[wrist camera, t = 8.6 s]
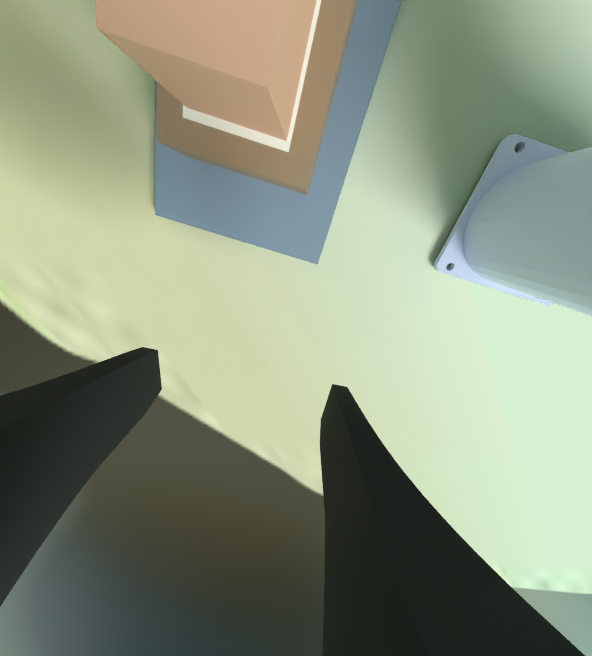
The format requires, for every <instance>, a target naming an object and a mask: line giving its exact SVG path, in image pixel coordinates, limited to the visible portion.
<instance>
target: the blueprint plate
mask: <svg viewBox="0 0 592 656" xmlns="http://www.w3.org/2000/svg"><path fill="white" fill-rule="evenodd" d="M401 1H402V0H317V1H316V6H315V10H314V15H313V20H312V25H311V29H310V34H309V39H308V43H307V48H306V53H305V58H304V62H303V67H302V72H301V77H300V81H299V86H298V91H297V95H296V100H295V105H294V110H293V114H292V119H291V124H290V129H289V133H288V138H287V141H284V140H281V139H278V138H275V137H272V136H269V135H266V134H263V133H260V132H257V131H254V130H251V129H248V128H245V127H243V126H240V125H237V124H234V123H231V122H228V121H225V120H222V119H219V118H216V117H213V116H210V115H207V114H204V113H201V112H198V111H195V110H192V109H189V108H187V107H186V106H185V105H183V104H182V103H181V102H180V101H179V100H178V99H177V98H175V97H174V96H173V95H172V94H171V93H170V92H169V91H168V90H166V89H165V88H164V87H163V86H162V85H161V84H160V83H158V82H157V81H156V80H155V215H158V216H161V217H164V218H168V219H171V220H174V221H177V222H181V223H184V224H187V225H190V226H194V227H197V228H200V229H204V230H207V231H210V232H213V233H217V234H220V235H223V236H226V237H230V238H233V239H236V240H239V241H243V242H246V243H249V244H253V245H256V246H259V247H262V248H266V249H269V250H272V251H275V252H279V253H282V254H285V255H288V256H292V257H295V258H298V259H302V260H305V261H308V262H311V263H315V264H318V261H319V258H320V255H321V252H322V249H323V246H324V242H325V239H326V236H327V233H328V230H329V227H330V224H331V221H332V217H333V214H334V211H335V208H336V205H337V202H338V199H339V195H340V192H341V189H342V186H343V183H344V180H345V177H346V174H347V170H348V167H349V164H350V161H351V158H352V155H353V152H354V148H355V145H356V142H357V139H358V136H359V133H360V130H361V127H362V123H363V120H364V117H365V114H366V111H367V108H368V105H369V101H370V98H371V95H372V92H373V89H374V86H375V83H376V80H377V76H378V73H379V70H380V67H381V64H382V61H383V58H384V54H385V51H386V48H387V45H388V42H389V39H390V36H391V33H392V29H393V26H394V23H395V20H396V17H397V14H398V11H399V7H400V4H401Z"/></svg>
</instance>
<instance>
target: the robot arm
mask: <svg viewBox="0 0 592 656" xmlns="http://www.w3.org/2000/svg"><path fill="white" fill-rule="evenodd" d="M517 144H518V145H519V151H518V152H517V153H516V152H515V146H516V145H517ZM449 263H451V267H450V268H449V269H446V267H447V265H448V264H449ZM434 268H435V270H437V271H439V272H443V273H446V274H449V275H452V276H455V277H459V278H462V279H465V280H468V281H471V282H474V283H478V284H481V285H484V286H487V287H490V288H494V289H497V290H500V291H503V292H506V293H510V294H513V295H516V296H519V297H522V298H525V299H529V300H532V301H535V302H538V303H541V304H545V305H553V304H558V305H561V306H563V307H566V308H569V309H572V310H575V311H578V312H581V313H584V314H587V315H589V316H592V147H588V148H585V149H581V150H577V151H573V152H567V151H564V150H561V149H558V148H555V147H553V146H550V145H547V144H544V143H541V142H538V141H536V140H533V139H530V138H527V137H524V136H522V135H519V134H512V135H509V136H507V137H505V138H504V139H502V141H501V142H500V143H499V145H498V147H497V149H496V151H495V152H494V154H493V156H492V158H491V160H490V162H489V163H488V165H487V167H486V169H485V171H484V173H483V174H482V176H481V178H480V180H479V182H478V184H477V185H476V187H475V189H474V191H473V193H472V195H471V196H470V198H469V200H468V202H467V204H466V206H465V207H464V209H463V211H462V213H461V215H460V217H459V218H458V220H457V222H456V224H455V226H454V228H453V229H452V231H451V233H450V235H449V237H448V239H447V240H446V242H445V244H444V246H443V248H442V250H441V251H440V253H439V255H438V257H437V259H436V261H435V263H434ZM161 389H162V387H161V377H160V368H159V358H158V350H154V349H149V348H144V347H142V348H139V349H135V350H132V351H129V352H126V353H124V354H121V355H118V356H115V357H113V358H110V359H107V360H104V361H102V362H99V363H96V364H94V365H91V366H88V367H85V368H83V369H80V370H77V371H75V372H72V373H69V374H66V375H63V376H60V377H57V378H54V379H51V380H48V381H46V382H42V383H39V384H37V385H34V386H31V387H27V388H24V389H21V390H18V391H15V392H11V393H8V394H5V395H2V396H0V606H1V605H2V603H3V601H4V600H5V598H6V597H7V595H8V594H9V592H10V591H11V589H12V588H13V586H14V585H15V583H16V582H17V580H18V579H19V577H20V576H21V574H22V573H23V571H24V570H25V568H26V567H27V565H28V564H29V562H30V561H31V559H32V558H33V556H34V555H35V553H36V552H37V550H38V549H39V547H40V546H41V544H42V543H43V542H44V540H45V539H46V537H47V536H48V535H49V533H50V532H51V530H52V529H53V528H54V526H55V525H56V523H57V522H58V520H59V519H60V518H61V516H62V514H63V513H64V512H65V510H66V509H67V508H68V506H69V505H70V504H71V502H72V501H73V499H74V498H75V497H76V495H77V494H78V493H79V492H80V490H81V489H82V487H83V486H84V485H85V483H86V482H87V481H88V479H89V478H90V477H91V476H92V474H93V473H94V472H95V471H96V470H97V468H98V467H99V466H100V465H101V464H102V462H103V461H104V460H105V459H106V458H107V457H108V456H109V454H110V453H111V452H112V451H113V450H114V449H115V448H116V446H117V445H118V444H119V443H120V442H121V441H122V439H123V438H124V437H125V436H126V435H127V434H128V433H129V431H130V430H131V429H132V428H133V427H134V426H135V425H136V424H137V422H138V421H139V420H140V419H141V418H142V417H143V415H144V414H145V413H146V412H147V410H148V409H149V407H150V406H151V405H152V403H153V402H154V400H155V399H156V397H157V396H158V394H159V393H160V391H161ZM320 453H321V467H322V481H323V494H324V506H325V582H324V583H325V584H324V624H323V656H585V655H584V654H583V653H581V652H580V651H579V650H578V649H577V648H576V647H575V646H574V645H573V644H572V643H571V642H570V641H568V640H567V639H566V638H565V637H564V636H563V635H562V634H561V633H560V632H559V631H558V630H557V629H555V628H554V627H553V626H552V625H551V624H550V623H549V622H548V621H547V620H546V619H545V618H544V617H543V616H541V615H540V614H539V613H538V612H537V611H536V610H535V609H534V608H533V607H532V606H531V605H529V604H528V603H527V602H526V601H525V600H524V599H523V598H522V597H521V596H520V595H519V594H518V593H517V592H515V590H513V589H512V588H511V587H510V586H509V585H508V584H507V583H506V582H505V581H504V580H503V579H502V578H501V577H500V576H499V575H498V574H497V573H496V572H495V571H494V570H493V569H492V568H491V567H490V566H489V565H488V564H487V563H486V562H485V561H484V560H483V559H482V558H481V557H480V556H479V555H478V554H477V553H476V552H475V551H474V550H473V549H472V548H471V547H470V546H469V545H468V544H467V543H466V542H465V541H464V540H463V539H462V537H461V536H460V535H459V534H458V533H457V532H456V531H455V530H454V529H453V528H452V527H451V526H450V525H449V524H448V522H447V521H446V520H445V519H444V518H443V517H442V516H441V515H440V514H439V513H438V512H437V510H436V509H435V508H434V507H433V506H432V505H431V504H430V503H429V501H428V500H427V499H426V498H425V497H424V496H423V495H422V493H421V492H420V491H419V490H418V489H417V487H416V486H415V485H414V484H413V483H412V481H411V480H410V479H409V478H408V476H407V475H406V474H405V473H404V472H403V470H402V469H401V468H400V466H399V465H398V464H397V463H396V461H395V460H394V459H393V457H392V456H391V454H390V453H389V452H388V450H387V449H386V448H385V446H384V445H383V443H382V442H381V440H380V439H379V437H378V436H377V434H376V433H375V431H374V430H373V428H372V427H371V425H370V424H369V422H368V421H367V419H366V417H365V416H364V414H363V413H362V411H361V409H360V408H359V406H358V404H357V403H356V401H355V399H354V398H353V396H352V394H351V393H350V391H349V389H348V388H347V387H344V386H339V385H334V384H332V387H331V390H330V393H329V396H328V399H327V403H326V406H325V409H324V412H323V415H322V418H321V429H320Z"/></svg>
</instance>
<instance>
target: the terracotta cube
mask: <svg viewBox="0 0 592 656" xmlns="http://www.w3.org/2000/svg"><path fill="white" fill-rule="evenodd" d="M316 1H317V0H95V5H96V19H97V29H98V30H100V31H101V32H102V33H103V34H104V35H105V36H106V37H107V38H109V39H110V40H111V41H112V42H113V43H114V44H115V45H117V46H118V47H119V48H120V49H121V50H122V51H123V52H124V53H126V54H127V55H128V56H129V57H130V58H131V59H132V60H134V61H135V62H136V63H137V64H138V65H139V66H140V67H141V68H143V69H144V70H145V71H146V72H147V73H148V74H149V75H151V76H152V77H153V78H154V79H155V80H156V81H157V82H158V83H160V84H161V85H162V86H163V87H164V88H165V89H166V90H168V91H169V92H170V93H171V94H172V95H173V96H174V97H175V98H177V99H178V100H179V101H180V102H181V103H182V104H183V105H185V106H186V107H187V108H189V109H192V110H195V111H198V112H201V113H204V114H207V115H210V116H213V117H216V118H219V119H222V120H225V121H228V122H231V123H234V124H237V125H240V126H243V127H245V128H248V129H251V130H254V131H257V132H260V133H263V134H266V135H269V136H272V137H275V138H278V139H281V140H284V141H287V138H288V133H289V129H290V124H291V119H292V114H293V110H294V105H295V100H296V95H297V91H298V86H299V81H300V77H301V72H302V67H303V62H304V58H305V53H306V48H307V43H308V39H309V34H310V29H311V25H312V20H313V15H314V10H315V6H316Z"/></svg>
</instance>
